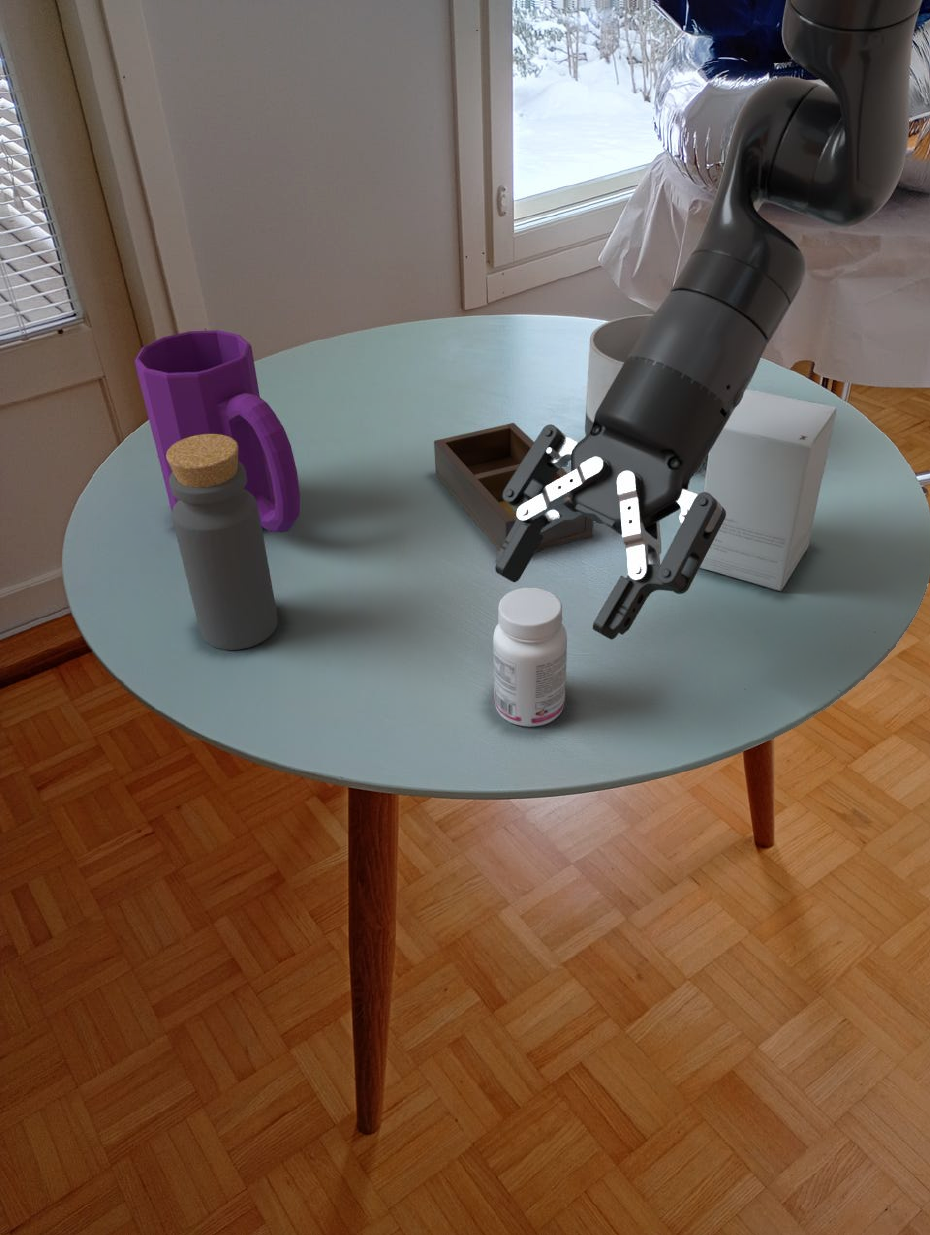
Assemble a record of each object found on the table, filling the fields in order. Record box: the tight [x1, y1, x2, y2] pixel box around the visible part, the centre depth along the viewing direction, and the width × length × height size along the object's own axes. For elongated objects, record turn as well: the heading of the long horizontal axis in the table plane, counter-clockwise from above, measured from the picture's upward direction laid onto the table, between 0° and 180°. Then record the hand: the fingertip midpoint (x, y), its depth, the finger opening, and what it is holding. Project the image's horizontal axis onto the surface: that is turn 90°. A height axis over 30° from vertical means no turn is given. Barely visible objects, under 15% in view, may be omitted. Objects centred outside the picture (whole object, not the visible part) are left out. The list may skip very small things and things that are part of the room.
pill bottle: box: [492, 587, 568, 727], centre depth 64 cm, size 5×5×8 cm
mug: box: [134, 329, 301, 533], centre depth 81 cm, size 9×16×15 cm, turn 47°
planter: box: [584, 313, 655, 437], centre depth 92 cm, size 13×13×10 cm
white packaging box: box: [699, 388, 838, 592], centre depth 76 cm, size 7×7×13 cm
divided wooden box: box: [433, 422, 594, 552], centre depth 86 cm, size 8×15×4 cm, turn 23°
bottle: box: [166, 434, 279, 651], centre depth 70 cm, size 6×6×15 cm
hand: (551, 605), depth 63 cm, fingers open, 8 cm apart
